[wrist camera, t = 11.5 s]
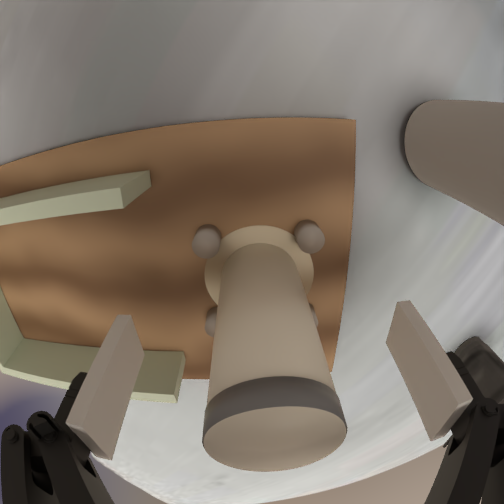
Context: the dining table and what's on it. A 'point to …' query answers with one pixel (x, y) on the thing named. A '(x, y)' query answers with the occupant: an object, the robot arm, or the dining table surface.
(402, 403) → the dining table surface
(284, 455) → the beige rounded cylinder
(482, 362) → the beverage cup
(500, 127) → the beverage can
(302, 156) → the board
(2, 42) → the dining table surface
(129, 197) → the pale green open frame
